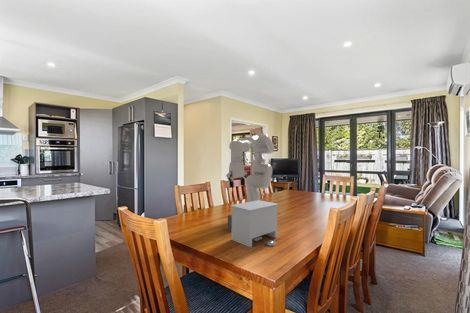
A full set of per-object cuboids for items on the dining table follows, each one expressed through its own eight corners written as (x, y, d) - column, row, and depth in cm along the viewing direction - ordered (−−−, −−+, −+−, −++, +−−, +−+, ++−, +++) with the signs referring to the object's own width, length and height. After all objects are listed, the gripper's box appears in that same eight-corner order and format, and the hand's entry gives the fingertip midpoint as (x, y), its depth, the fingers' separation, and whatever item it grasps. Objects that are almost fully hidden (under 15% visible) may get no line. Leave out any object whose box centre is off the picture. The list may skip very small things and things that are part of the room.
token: (270, 242, 124) (270, 239, 124) (277, 245, 120) (277, 242, 120) (263, 244, 121) (263, 241, 121) (270, 247, 117) (270, 244, 117)
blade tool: (233, 228, 147) (233, 214, 147) (261, 238, 129) (261, 222, 129) (226, 230, 143) (227, 215, 143) (255, 240, 126) (255, 224, 125)
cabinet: (258, 230, 143) (258, 200, 142) (278, 237, 131) (278, 203, 131) (230, 239, 127) (230, 205, 127) (249, 247, 116) (250, 210, 116)
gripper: (242, 158, 157) (242, 183, 158) (222, 160, 146) (223, 187, 147) (250, 159, 152) (250, 185, 153) (230, 161, 140) (231, 189, 141)
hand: (237, 186), depth 150 cm, fingers open, 9 cm apart
